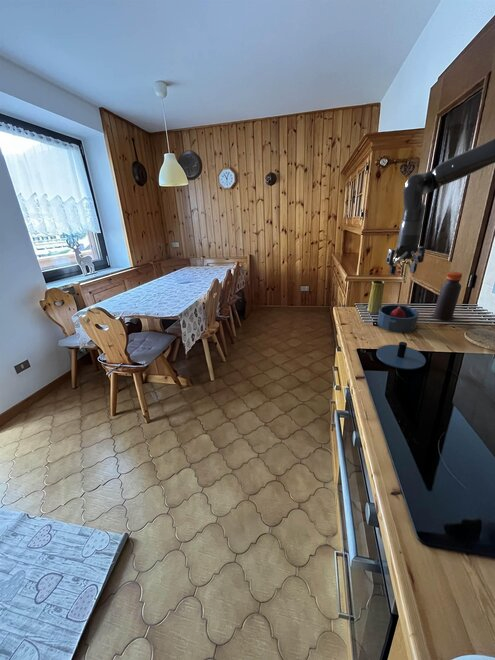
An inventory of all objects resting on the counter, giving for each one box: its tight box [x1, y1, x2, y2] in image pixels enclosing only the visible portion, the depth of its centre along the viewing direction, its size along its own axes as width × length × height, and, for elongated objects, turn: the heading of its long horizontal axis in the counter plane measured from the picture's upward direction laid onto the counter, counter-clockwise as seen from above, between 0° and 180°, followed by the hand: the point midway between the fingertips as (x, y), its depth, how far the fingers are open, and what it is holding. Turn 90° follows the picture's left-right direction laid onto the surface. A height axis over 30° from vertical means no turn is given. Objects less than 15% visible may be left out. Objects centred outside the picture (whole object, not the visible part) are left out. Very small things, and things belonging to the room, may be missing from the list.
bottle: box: [433, 271, 463, 322], centre depth 119 cm, size 7×7×20 cm
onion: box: [390, 307, 406, 318], centre depth 118 cm, size 6×6×8 cm
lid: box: [375, 341, 427, 371], centre depth 97 cm, size 15×15×6 cm
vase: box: [366, 279, 385, 314], centre depth 131 cm, size 6×6×14 cm
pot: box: [377, 304, 419, 333], centre depth 119 cm, size 14×20×6 cm
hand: (402, 273), depth 116 cm, fingers open, 8 cm apart
